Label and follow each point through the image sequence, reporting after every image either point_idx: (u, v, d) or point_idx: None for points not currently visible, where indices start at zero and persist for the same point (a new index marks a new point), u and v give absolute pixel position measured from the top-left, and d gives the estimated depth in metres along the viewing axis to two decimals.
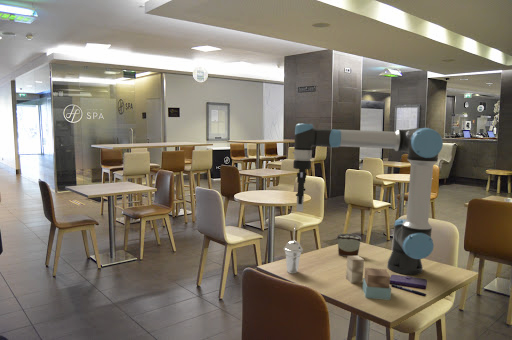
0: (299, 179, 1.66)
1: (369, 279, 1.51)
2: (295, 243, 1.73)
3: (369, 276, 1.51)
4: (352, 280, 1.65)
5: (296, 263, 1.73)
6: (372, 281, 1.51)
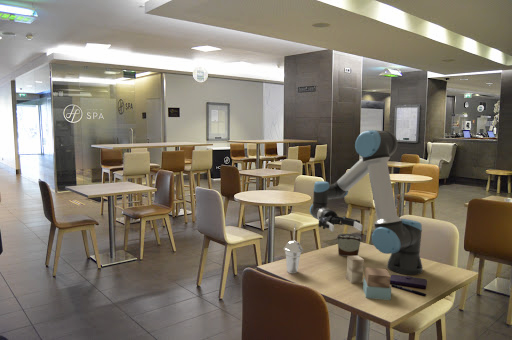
0: None
1: (369, 279, 1.51)
2: (295, 243, 1.73)
3: (369, 276, 1.51)
4: (352, 280, 1.65)
5: (296, 263, 1.73)
6: (372, 281, 1.51)
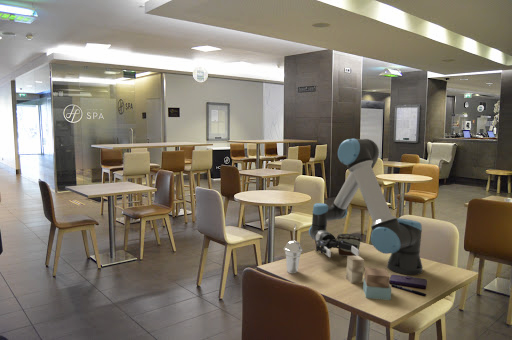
0: None
1: (368, 279, 1.51)
2: (295, 243, 1.73)
3: (368, 276, 1.51)
4: (352, 280, 1.65)
5: (296, 263, 1.73)
6: (372, 281, 1.51)
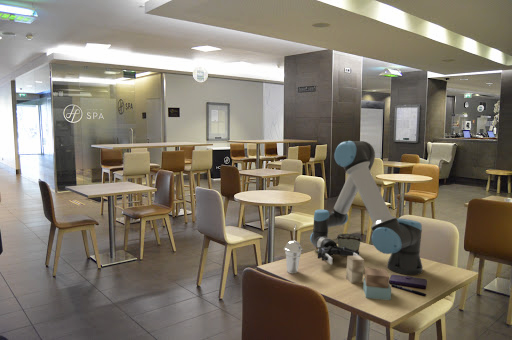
0: None
1: (368, 279, 1.51)
2: (295, 243, 1.73)
3: (368, 276, 1.51)
4: (352, 280, 1.65)
5: (296, 263, 1.73)
6: (371, 281, 1.51)
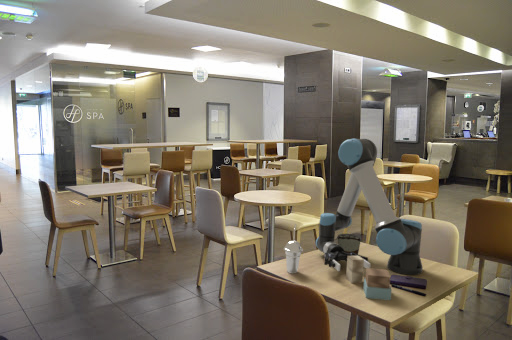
0: None
1: (369, 279, 1.51)
2: (295, 243, 1.73)
3: (369, 276, 1.51)
4: (352, 280, 1.65)
5: (296, 263, 1.73)
6: (372, 282, 1.51)
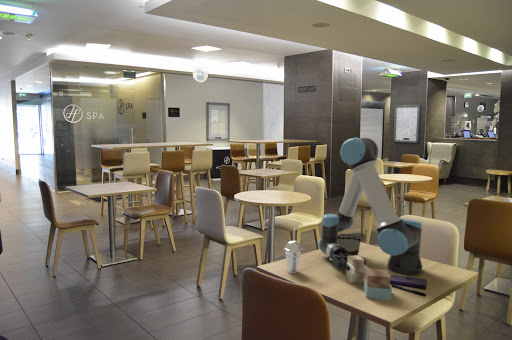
0: (333, 262, 1.74)
1: (369, 279, 1.51)
2: (295, 243, 1.73)
3: (369, 276, 1.51)
4: (352, 280, 1.65)
5: (296, 263, 1.73)
6: (372, 282, 1.51)
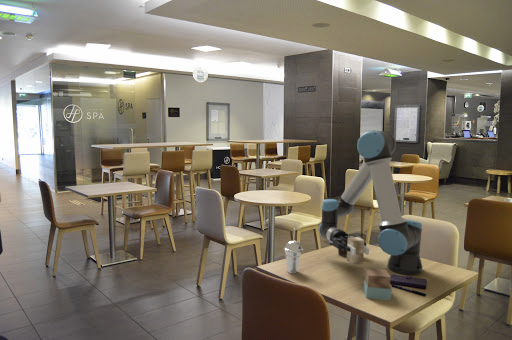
0: (333, 244, 1.74)
1: (369, 279, 1.51)
2: (295, 243, 1.73)
3: (370, 276, 1.50)
4: (353, 261, 1.64)
5: (296, 263, 1.73)
6: (373, 282, 1.51)
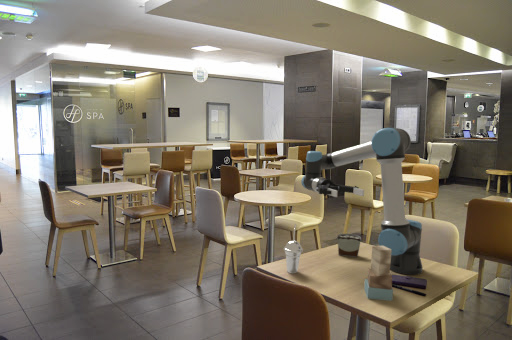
0: (318, 190, 1.79)
1: (371, 280, 1.50)
2: (295, 243, 1.73)
3: (371, 277, 1.50)
4: (379, 272, 1.50)
5: (296, 263, 1.73)
6: (374, 282, 1.50)
